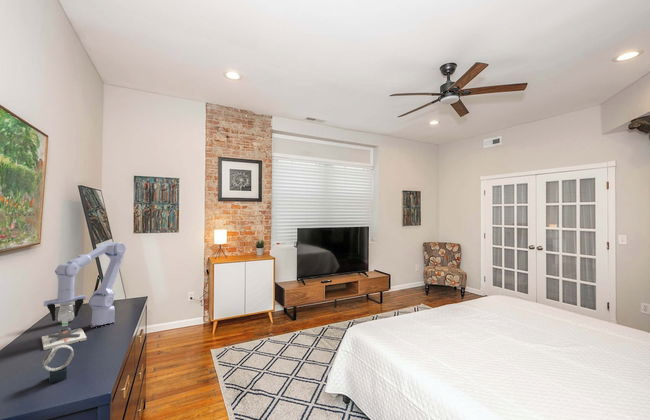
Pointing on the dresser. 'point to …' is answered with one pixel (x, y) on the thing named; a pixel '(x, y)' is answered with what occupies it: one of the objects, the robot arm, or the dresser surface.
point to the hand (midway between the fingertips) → (64, 318)
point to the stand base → (63, 338)
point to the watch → (59, 371)
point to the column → (65, 317)
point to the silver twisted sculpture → (67, 309)
